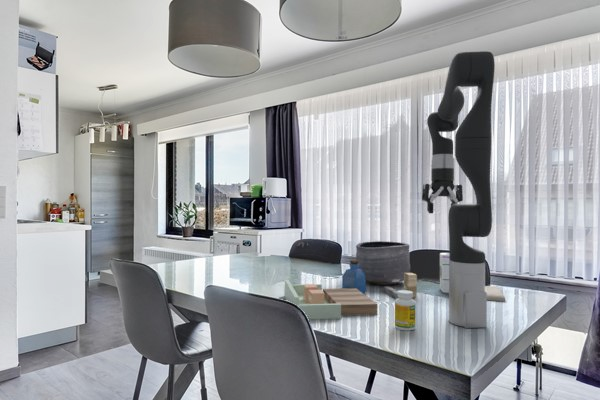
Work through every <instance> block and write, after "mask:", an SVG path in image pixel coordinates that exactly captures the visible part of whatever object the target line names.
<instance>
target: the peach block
mask: <svg viewBox="0 0 600 400" xmlns="http://www.w3.org/2000/svg"><path fill="white" fill-rule="evenodd" d="M309 304H324V292H323V289H322V290H309Z"/></svg>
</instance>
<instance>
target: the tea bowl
mask: <svg viewBox="0 0 600 400" xmlns="http://www.w3.org/2000/svg"><path fill="white" fill-rule="evenodd" d="M355 248H356V251H355V252H356V253H355V258H356V259H355V260H358V264H359V267H358V269H361V270H362V271H363V273H364V274H365V276H366V281H370V283H372V284H376V285H382V286H390V285H394V284H396V283H399V282H404V273H411V272H410V271H411V264H410V263H411V262H410V258H411V257H410V244H409V243H405V242H397V241H385V240H384V241H380V240H376V241H364V242H359V243H358V244H356V245H355Z"/></svg>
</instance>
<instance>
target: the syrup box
mask: <svg viewBox="0 0 600 400" xmlns="http://www.w3.org/2000/svg"><path fill="white" fill-rule="evenodd" d="M439 290H440V291H441V293H444V294H449V252H440V253H439Z"/></svg>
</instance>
